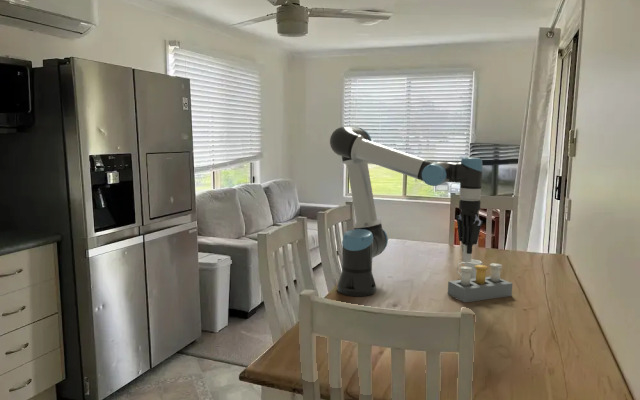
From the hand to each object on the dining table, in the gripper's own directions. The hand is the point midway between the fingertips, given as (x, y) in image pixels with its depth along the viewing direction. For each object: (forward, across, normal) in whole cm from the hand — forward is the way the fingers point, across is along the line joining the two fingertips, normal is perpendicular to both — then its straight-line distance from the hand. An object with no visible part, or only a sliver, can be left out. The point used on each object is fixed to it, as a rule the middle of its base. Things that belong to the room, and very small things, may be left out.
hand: (466, 261), depth 175 cm
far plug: (+9, 0, -14) cm, 17 cm away
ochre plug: (+9, 0, -7) cm, 12 cm away
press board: (+14, 0, -7) cm, 16 cm away
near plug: (+9, 0, 0) cm, 9 cm away
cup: (+14, +18, -16) cm, 28 cm away
